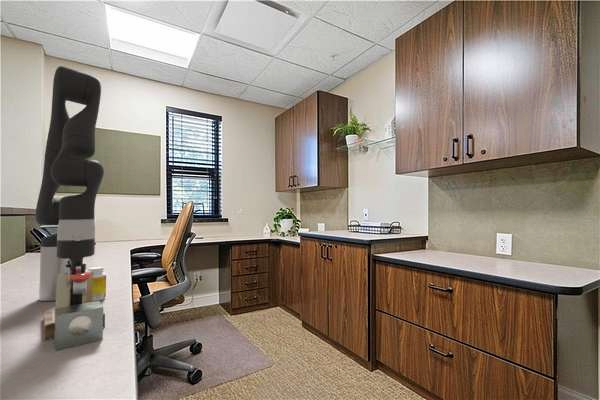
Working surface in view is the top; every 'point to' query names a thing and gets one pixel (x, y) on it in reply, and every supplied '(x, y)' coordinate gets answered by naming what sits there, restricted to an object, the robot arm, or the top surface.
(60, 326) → the cabinet
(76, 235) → the robot arm
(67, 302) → the skincare box
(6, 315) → the top surface
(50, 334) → the rail
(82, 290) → the button
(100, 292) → the supplement bottle
